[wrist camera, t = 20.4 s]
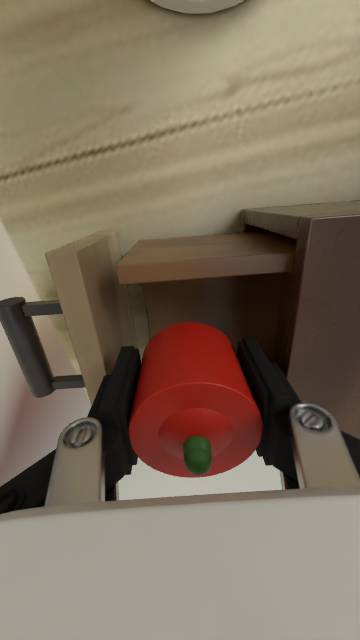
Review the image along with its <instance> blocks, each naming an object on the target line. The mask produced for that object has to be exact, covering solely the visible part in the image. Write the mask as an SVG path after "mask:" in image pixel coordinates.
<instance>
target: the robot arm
mask: <svg viewBox="0 0 360 640" xmlns="http://www.w3.org/2000/svg"><path fill="white" fill-rule="evenodd" d="M150 1H152V2H154V3H155V4H157V5H159V6H161V7H163V8H167V9H171V10H175V11H179V12H182V13H186V14H188V13H213V12H216V11H220V10H223V9H226V8H230V7H233V6H236V5H238V4H239V3H241V2H243V1H244V0H150ZM237 357H238V360H239V362H240V365H241V367H242V370H243V372H244V374H245V377H246V379H247V382H248V384H249V387H250V389H251V392H252V394H253V396H254V399H255V401H256V404H257V406H258V409H259V411H260V414H261V416H262V420H263V427H262V436H261V441H260V443H259V445H258V447H257V448H256V451H257V454H258V456H259V457H260V456H263V459H264V462H265V465H273V466H274V467H276V468H277V469H279V470H280V477H281V483H282V490H273V491H256V492H240V493H225V494H208V495H193V496H180V497H179V496H178V497H163V498H149V499H134V500H120V501H119V490H118V481H119V480H120V479H121V478H123V476H124V475H130V474H131V470H132V465H136V464H137V459H138V456H137V455H136V453H135V452H134V450H133V449H132V446H131V442H130V438H129V433H128V427H129V422H130V417H131V412H132V407H133V402H134V397H135V392H136V388H137V383H138V378H139V373H140V368H141V360H140V354H139V349H138V348H135V347H134V346H122V347H121V349H120V352H119V355H118V357H117V360H116V363H115V366H114V368H113V371H112V374H111V375H105V376H104V377H103V379H102V382H101V384H100V387H99V389H98V392H97V394H96V397H95V399H94V402H93V404H92V407H91V410H90V412H89V414H88V416H87V417H86V418H81V419H78V420H76V421H74V422H72V423H70V424H69V425H68V426H67V427H66V428H65V429H64V430H63V431H62V433H61V434H60V436H59V439H58V444H57V448H56V449H55V450H54V451H52V452H51V453H49V454H48V455H46V456H45V457H43V458H42V459H41V460H39V461H38V462H36V463H35V464H33V465H32V466H30V467H29V468H27V469H26V470H24V471H23V472H22V473H20V474H19V475H17V476H16V477H14V478H13V479H11V480H10V481H8V482H7V483H5V484H4V485H2V486H1V487H0V640H360V439H358V438H356V437H353V436H351V435H349V434H347V433H345V432H343V431H341V430H340V429H339V427H338V424H337V422H336V420H335V418H334V417H333V415H332V414H331V413H330V412H329V411H328V410H326V409H324V408H323V407H321V406H319V405H316V404H313V403H308V402H301V400H300V399H299V397H298V396H297V394H296V392H295V391H294V389H293V388H292V386H291V385H290V383H289V382H288V380H287V378H286V377H285V375H284V374H283V372H282V371H281V369H280V367H279V366H278V365H277V364H276V363H270V362H269V360H268V358H267V357H266V355H265V353H264V351H263V350H262V348H261V346H260V345H259V343H258V341H257V340H256V338H255V337H246V338H242V341H238V349H237Z"/></svg>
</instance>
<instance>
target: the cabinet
mask: <svg viewBox="0 0 360 640" xmlns="http://www.w3.org/2000/svg"><path fill="white" fill-rule="evenodd" d="M256 231H271V232H274V233H278V234H281V235H284V236H287V237H290V238H294V239H297V243H296V251H295V258H294V266H293V273H292V281H291V288H290V295H289V303H288V310H287V318H286V325H285V333H284V340H283V348H282V355H281V363H280V369H281V371H282V372H283V374H284V375H285V377H286V378H287V380H288V382H289V383H290V385H291V386H292V388H293V389H294V391H295V392H296V394H297V396H298V397H299V399H300V400H301V402H308V403H313V404H316V405H319V406H321V407H323V408H324V409H326V410H328V411H329V412H330V413H331V414H332V415H333V417H334V418H335V420H336V422H337V424H338V427H339V429H340V430H341V431H343V432H345V433H347V434H349V435H351V436H353V437H356V438H358V439H360V200H355V201H343V202H330V203H317V204H304V205H292V206H279V207H266V208H253V209H243V210H242V211H241V233H243V232H256Z"/></svg>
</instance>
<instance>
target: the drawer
mask: <svg viewBox="0 0 360 640" xmlns="http://www.w3.org/2000/svg"><path fill="white" fill-rule="evenodd" d="M296 243H297V239H294V238H290V237H287V236H284V235H281V234H278V233H274V232H271V231H256V232H243V233H230V234H218V235H205V236H192V237H179V238H166V239H153V240H140V241H138V242H137V243H136V244H135V245H134V246H133V248H132V249H131V250H130V251H129V252H128V253H127V254H126V255H125V256H124V258H123V259H122V257H121V251H120V245H119V239H118V234H117V230H112V231H99V232H97V233H94V234H92V235H89V236H87V237H84V238H82V239H79V240H77V241H74V242H72V243H70V244H67V245H65V246H62V247H60V248H57V249H55V250H52V251H50V252H47V253H45V256H46V259H47V263H48V266H49V269H50V272H51V276H52V279H53V282H54V285H55V289H56V292H57V295H58V298H59V300H51V301H38V302H27V303H26V301H25V299H24V298H23V297H14V298H8V299H5V300H2V301H0V321H1V324H2V326H3V328H4V330H5V333H6V335H7V337H8V340H9V342H10V344H11V346H12V349H13V351H14V353H15V355H16V358H17V360H18V362H19V365H20V367H21V369H22V371H23V374H24V376H25V378H26V380H27V383H28V385H29V387H30V390H31V392H32V394H33V396H35V397H37V398H41V397H44V396H48V395H49V394H51V393H52V392H54V391H55V390H56V389H67V388H82V387H86V389H87V392H88V396H89V399H90V402H91V405H92V404H93V402H94V399H95V397H96V394H97V392H98V389H99V387H100V384H101V382H102V379H103V377H104V376H105V375H111V374H112V371H113V368H114V366H115V363H116V360H117V357H118V355H119V352H120V349H121V347H122V346H134V347H135V348H137V343H136V337H135V331H134V326H133V320H132V314H131V308H130V303H129V297H128V291H127V285H126V284H136V283H143V290H144V297H145V304H146V311H147V318H148V325H149V332H150V339H152V338H153V337H154V336H155V335H156V334H157V333H158V332H160V331H161V330H163V329H164V328H166V327H168V326H171V325H174V324H178V323H183V322H198V323H203V324H207V325H210V326H212V327H214V328H216V329H218V330H219V331H221V332H222V333H223V334H224V335H225V336H227V338H228V339H229V340H230V342H231V343H232V345H233V348H234V350H235V352H236V355H237V349H238V341H242V338H246V337H255V338H256V340H257V341H258V343H259V345H260V346H261V348H262V350H263V351H264V353H265V355H266V357H267V358H268V360H269V362H270V363H276V364H277V365H278V366H279V367H280V363H281V355H282V348H283V340H284V333H285V325H286V318H287V310H288V303H289V295H290V288H291V281H292V273H293V266H294V258H295V251H296ZM50 314H63V315H64V318H65V321H66V324H67V327H68V331H69V334H70V337H71V340H72V344H73V347H74V350H75V353H76V357H77V360H78V363H79V366H80V370H81V373H82V375H69V376H56V377H54V376H53V373H52V371H51V368H50V365H49V363H48V360H47V357H46V354H45V352H44V349H43V346H42V344H41V341H40V338H39V336H38V333H37V330H36V328H35V325H34V322H33V320H32V317H31V316H36V315H50Z"/></svg>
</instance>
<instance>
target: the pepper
mask: <svg viewBox="0 0 360 640" xmlns="http://www.w3.org/2000/svg"><path fill="white" fill-rule="evenodd" d="M262 427H263V420H262V416H261V414H260V411H259V409H258V406H257V404H256V401H255V399H254V396H253V394H252V392H251V389H250V387H249V384H248V382H247V379H246V377H245V374H244V372H243V370H242V367H241V365H240V362H239V360H238V357H237V355H236V352H235V350H234V348H233V345H232V343H231V342H230V340H229V339H228V338H227V336H225V335H224V334H223V333H222V332H221V331H219V330H218V329H216V328H214V327H212V326H210V325H207V324H203V323H198V322H183V323H178V324H174V325H171V326H168V327H166V328H164V329H163V330H161V331H160V332H158V333H157V334H156V335H155V336H154V337H153V338H152V339H151V340H150V341H149V343H148V344H147V346H146V348H145V351H144V354H143V358H142V363H141V368H140V373H139V378H138V383H137V388H136V392H135V397H134V402H133V407H132V412H131V417H130V422H129V427H128V433H129V438H130V442H131V446H132V449H133V450H134V452H135V453H136V455H137V456H138V457H139V458H140V459H141V460H142V461H143V462H144V463H146V464H147V465H148V466H150V467H152V468H153V469H155V470H158V471H160V472H163V473H166V474H169V475H173V476H180V477H206V476H211V475H216V474H219V473H223V472H225V471H228V470H230V469H232V468H234V467H236V466H238V465H239V464H241V463H242V462H244V461H245V460H246V459H247V458H249V456H251V454H252V453H253V452H254V451H255V450H256V448H257V447H258V445H259V443H260V441H261V436H262Z"/></svg>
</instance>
